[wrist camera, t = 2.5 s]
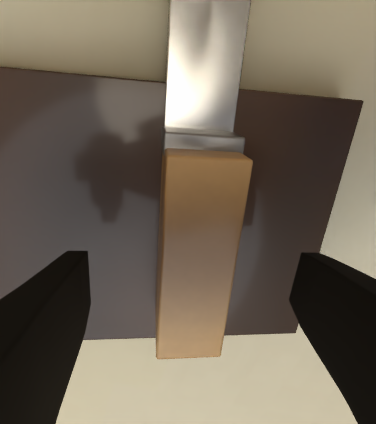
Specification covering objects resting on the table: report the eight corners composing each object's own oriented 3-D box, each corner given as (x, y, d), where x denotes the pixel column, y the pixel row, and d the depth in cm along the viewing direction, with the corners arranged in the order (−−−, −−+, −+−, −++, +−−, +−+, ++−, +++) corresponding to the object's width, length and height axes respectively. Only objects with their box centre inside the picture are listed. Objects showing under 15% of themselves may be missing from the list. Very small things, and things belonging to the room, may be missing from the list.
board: (340, 99, 12) (364, 100, 11) (284, 314, 17) (295, 333, 16) (-228, 47, 10) (-292, 39, 8) (-114, 322, 14) (-143, 347, 13)
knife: (208, 306, 14) (222, 357, 11) (154, 307, 14) (154, 360, 11) (285, -263, 7) (366, -484, 4) (180, -293, 7) (199, -551, 4)
